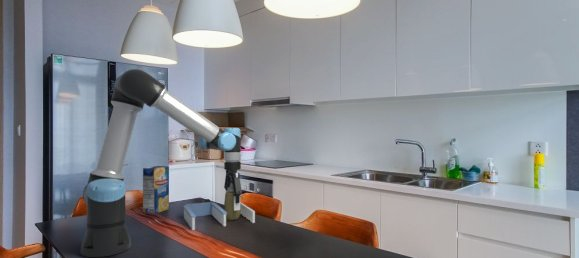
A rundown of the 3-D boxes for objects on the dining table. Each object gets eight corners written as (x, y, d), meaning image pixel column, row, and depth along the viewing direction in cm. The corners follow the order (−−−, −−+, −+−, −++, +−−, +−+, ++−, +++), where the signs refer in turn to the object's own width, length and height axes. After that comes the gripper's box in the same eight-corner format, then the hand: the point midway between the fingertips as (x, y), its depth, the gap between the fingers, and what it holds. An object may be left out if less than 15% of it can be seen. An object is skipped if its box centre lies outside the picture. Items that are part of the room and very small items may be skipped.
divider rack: (254, 222, 151) (254, 209, 151) (191, 230, 139) (191, 215, 139) (239, 211, 172) (239, 199, 172) (182, 217, 160) (182, 204, 160)
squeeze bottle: (237, 221, 153) (238, 181, 153) (220, 220, 155) (221, 180, 155) (243, 216, 161) (243, 178, 161) (227, 215, 163) (227, 178, 163)
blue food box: (142, 212, 168) (142, 168, 168) (157, 207, 179) (158, 165, 179) (154, 213, 166) (154, 168, 166) (168, 208, 177) (169, 166, 177)
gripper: (249, 163, 148) (249, 212, 148) (232, 158, 171) (232, 201, 171) (232, 163, 145) (232, 213, 145) (217, 159, 168) (217, 202, 168)
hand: (232, 207), depth 158 cm, fingers open, 13 cm apart
